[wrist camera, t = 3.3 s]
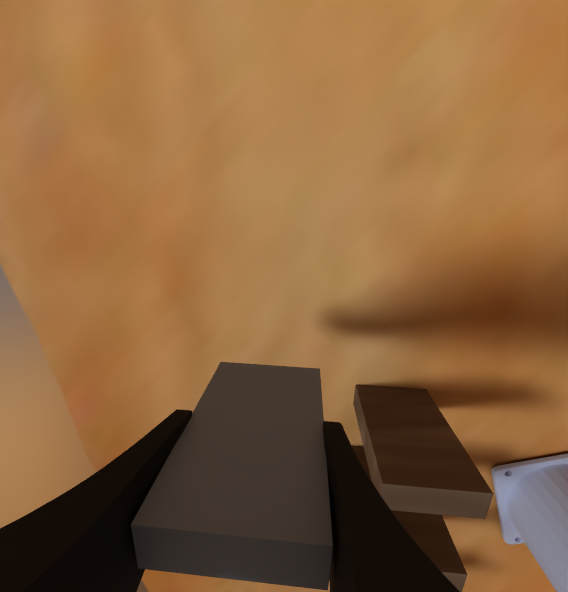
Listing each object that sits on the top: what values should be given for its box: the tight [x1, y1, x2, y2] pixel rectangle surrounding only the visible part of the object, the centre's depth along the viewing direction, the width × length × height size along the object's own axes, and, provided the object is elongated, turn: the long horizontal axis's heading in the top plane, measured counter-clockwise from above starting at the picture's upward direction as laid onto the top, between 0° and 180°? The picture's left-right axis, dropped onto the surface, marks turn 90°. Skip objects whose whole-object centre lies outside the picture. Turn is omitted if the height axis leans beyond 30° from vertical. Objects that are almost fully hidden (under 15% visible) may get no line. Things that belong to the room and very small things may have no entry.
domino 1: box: [131, 362, 333, 590], centre depth 11 cm, size 2×5×8 cm, turn 88°
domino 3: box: [352, 446, 467, 592], centre depth 19 cm, size 2×5×8 cm, turn 88°
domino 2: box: [353, 385, 493, 519], centre depth 18 cm, size 2×5×8 cm, turn 89°
